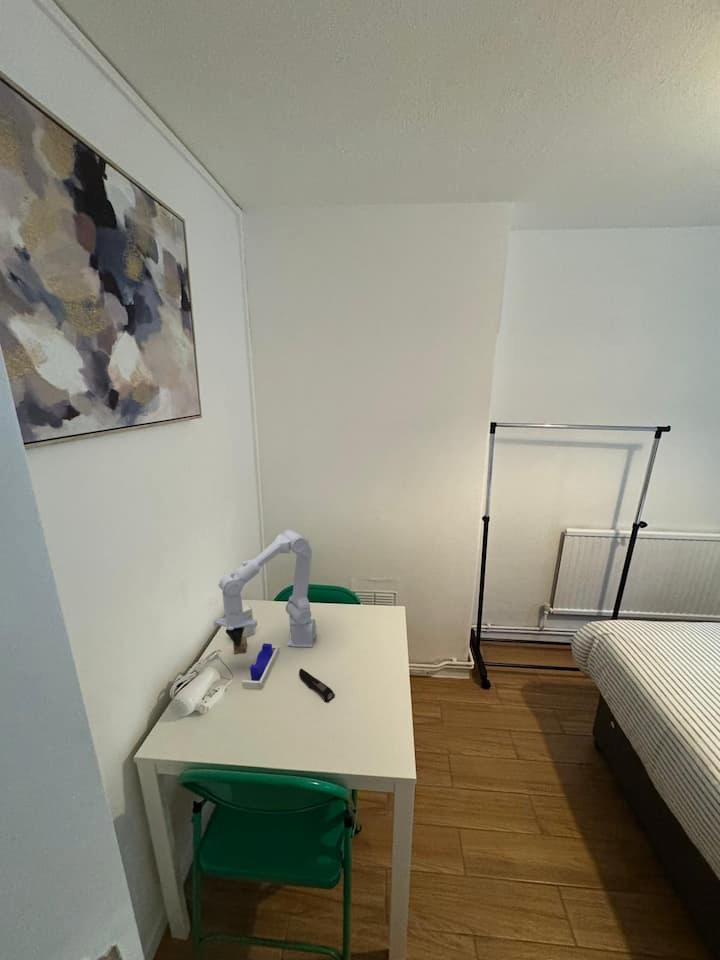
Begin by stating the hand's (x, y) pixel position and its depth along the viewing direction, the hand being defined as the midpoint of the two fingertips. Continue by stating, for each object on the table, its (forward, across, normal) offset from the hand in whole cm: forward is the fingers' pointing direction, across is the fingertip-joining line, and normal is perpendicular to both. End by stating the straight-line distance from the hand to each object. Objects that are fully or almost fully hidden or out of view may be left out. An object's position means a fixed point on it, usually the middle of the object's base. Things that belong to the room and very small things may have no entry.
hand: (238, 644), depth 129 cm
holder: (+9, +8, 0) cm, 12 cm away
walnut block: (+10, -4, +9) cm, 14 cm away
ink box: (+10, -7, +17) cm, 21 cm away
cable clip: (+10, +7, 0) cm, 12 cm away
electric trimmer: (+10, +28, -7) cm, 31 cm away
